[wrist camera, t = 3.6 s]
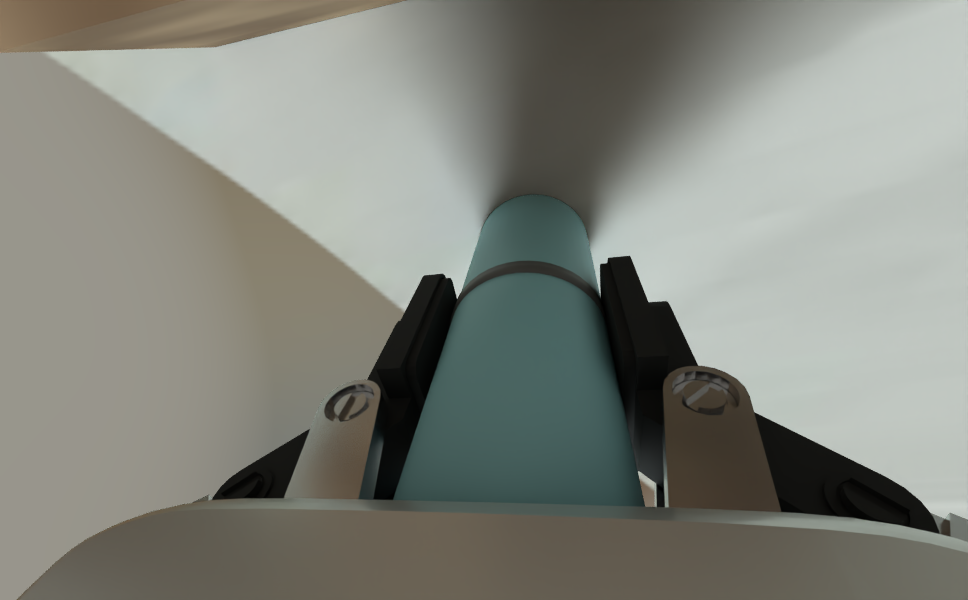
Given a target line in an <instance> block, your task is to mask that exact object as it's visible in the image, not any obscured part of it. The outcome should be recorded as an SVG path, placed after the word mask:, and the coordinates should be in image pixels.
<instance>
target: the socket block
mask: <svg viewBox="0 0 968 600" xmlns="http://www.w3.org/2000/svg"><path fill="white" fill-rule="evenodd" d="M401 1H405V0H0V53H9V52H47V51H86V50H124V49H162V48H201V47H218V46H222V45H226V44H230V43H234V42H238V41H242V40H246V39H250V38H254V37H258V36H262V35H266V34H271V33H275V32H279V31H283V30H287V29H291V28H295V27H299V26H303V25H307V24H311V23H315V22H320V21H324V20H328V19H332V18H336V17H340V16H344V15H348V14H352V13H356V12H360V11H364V10H369V9H373V8H377V7H381V6H385V5H389V4H393V3H397V2H401Z"/></svg>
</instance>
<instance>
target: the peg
mask: <svg viewBox="0 0 968 600" xmlns="http://www.w3.org/2000/svg"><path fill="white" fill-rule="evenodd" d="M393 500H412V501H454V502H495V503H533V504H570V505H603V506H636V507H645V504H644V499H643V495H642V490H641V485H640V481H639V476H638V471H637V466H636V462H635V457H634V452H633V448H632V443H631V438H630V434H629V429H628V424H627V420H626V415H625V410H624V406H623V401H622V396H621V392H620V387H619V382H618V378H617V373H616V368H615V364H614V359H613V354H612V350H611V345H610V340H609V335H608V331H607V318H606V314H605V309H604V306H603V304H602V301H601V298H600V293H599V289H598V284H597V279H596V275H595V270H594V265H593V260H592V256H591V251H590V246H589V242H588V237H587V233H586V229H585V227H584V224H583V222H582V220H581V219H580V217H579V216H578V215H577V213H576V212H575V211H574V210H573V209H572V208H570V207H569V206H568V205H566V204H565V203H563V202H562V201H560V200H558V199H555V198H552V197H549V196H544V195H524V196H519V197H516V198H513V199H510V200H508V201H506V202H504V203H503V204H501V205H500V206H499V207H497V208H496V209H495V210H494V211H493V212H492V213H491V214H490V215H489V217H488V218H487V220H486V221H485V223H484V226H483V228H482V231H481V234H480V237H479V240H478V243H477V246H476V249H475V252H474V255H473V258H472V261H471V264H470V267H469V270H468V273H467V276H466V279H465V282H464V285H463V289H462V292H461V293H460V295H459V297H458V299H457V301H456V304H455V307H454V310H453V313H452V316H451V319H450V325H449V331H448V334H447V337H446V340H445V343H444V346H443V349H442V352H441V355H440V358H439V361H438V364H437V368H436V371H435V374H434V377H433V380H432V383H431V386H430V389H429V392H428V395H427V398H426V401H425V404H424V407H423V410H422V413H421V416H420V419H419V422H418V425H417V428H416V431H415V434H414V437H413V440H412V443H411V447H410V450H409V453H408V456H407V459H406V462H405V465H404V468H403V471H402V474H401V477H400V480H399V483H398V486H397V489H396V492H395V495H394V498H393Z"/></svg>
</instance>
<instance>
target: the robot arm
mask: <svg viewBox="0 0 968 600" xmlns="http://www.w3.org/2000/svg"><path fill="white" fill-rule="evenodd" d="M600 287H601V301H602V304H603V306H604V309H605V314H606V318H607V331H608V335H609V340H610V345H611V350H612V354H613V359H614V364H615V368H616V373H617V378H618V382H619V387H620V392H621V396H622V401H623V406H624V410H625V415H626V420H627V424H628V429H629V434H630V438H631V443H632V448H633V452H634V457H635V462H636V466H637V471H640V472H641V473H643V474H644V475H645V476H647V477H648V478H650V479H651V480H652V481H654V482H655V507H636V506H603V505H570V504H533V503H495V502H454V501H412V500H393V498H394V495H395V492H396V489H397V486H398V483H399V480H400V477H401V474H402V471H403V468H404V465H405V462H406V459H407V456H408V453H409V450H410V447H411V443H412V440H413V437H414V434H415V431H416V428H417V425H418V422H419V419H420V416H421V413H422V410H423V407H424V404H425V401H426V398H427V395H428V392H429V389H430V386H431V383H432V380H433V377H434V374H435V371H436V368H437V364H438V361H439V358H440V355H441V352H442V349H443V346H444V343H445V340H446V337H447V334H448V331H449V325H450V319H451V316H452V313H453V310H454V307H455V304H456V301H457V298H456V294H455V290H454V286H453V282H452V280H451V278H446V277H445V275H444V274H435V275H425V276H423V278H422V280H421V282H420V284H419V286H418V288H417V289H416V291H415V293H414V295H413V297H412V299H411V301H410V303H409V305H408V307H407V309H406V311H405V313H404V315H403V317H402V319H401V321H398V323H397V324H396V325H395V327H394V329H393V331H392V333H391V335H390V337H389V339H388V341H387V343H386V345H385V346H384V349H383V350H382V352H381V354H380V356H379V358H378V360H377V362H376V364H375V366H374V368H373V370H372V372H371V374H370V375H369V377H368V379H367V380H354V381H351V382H347V383H345V384H343V385H341V386H339V387H337V388H336V389H334V390H333V391H332V392H330V393H329V394H328V395H327V396H326V397H325V398H324V399H323V401H322V402H321V404H320V406H319V408H318V411H317V413H316V415H315V418H314V421H313V423H312V426H311V428H310V429H309V430H307V431H305V432H304V433H302V434H301V435H299V436H297V437H296V438H294V439H292V440H291V441H289V442H287V443H286V444H284V445H282V446H280V447H279V448H277V449H275V450H274V451H272V452H270V453H269V454H267V455H266V456H264V457H262V458H261V459H259V460H257V461H256V462H254V463H252V464H251V465H249V466H247V467H246V468H244V469H242V470H241V471H239V472H238V473H236V474H235V475H234V476H232V477H231V478H229V479H228V480H227V481H226V482H225V483H224V484H223V485H222V486H221V487H220V489H219V490H218V491H217V493H216V494H215V495H214V497H213V498H212V497H211V496H210V495H207V496H205V497H203V498H201V499H198V500H196V501H194V502H192V503H187V504H182V505H177V506H173V507H169V508H165V509H160V510H156V511H151V512H149V513H146V514H143V515H140V516H137V517H134V518H132V519H128V520H126V521H123V522H120V523H118V524H116V525H114V526H111V527H109V528H107V529H105V530H103V531H101V532H99V533H97V534H95V535H93V536H91V537H89V538H87V539H86V540H84V541H83V542H81V543H80V544H78V545H77V546H75V547H74V548H72V549H71V550H70V551H69V552H67V553H66V554H65V555H64V556H63V557H61V558H60V559H59V560H58V561H56V562H55V563H54V564H53V565H52V566H51V567H50V568H49V569H48V570H47V571H46V572H45V573H44V574H43V575H42V576H41V577H40V578H39V579H37V580H36V581H35V582H34V583H33V584H32V585H31V586H30V587H29V588H28V589H27V590H26V591H25V592H24V593H23V594H22V595H21V596H20V597H19V598H18V599H17V600H968V520H967V519H965V518H962V517H960V516H957V515H954V514H952V513H949V514H948V516H947V517H946V518H945V519H944V518H942V517H939V516H937V515H934V514H932V513H930V512H929V511H928V510H927V508H926V507H925V506H924V505H923V503H922V502H921V501H920V500H918V499H917V498H916V497H915V496H914V495H912V494H911V493H910V492H909V491H908V490H906V489H905V488H904V487H902V486H900V485H899V484H897V483H895V482H894V481H892V480H890V479H889V478H887V477H885V476H883V475H881V474H879V473H877V472H875V471H873V470H871V469H869V468H867V467H865V466H863V465H861V464H858V463H856V462H854V461H852V460H850V459H848V458H846V457H844V456H842V455H840V454H838V453H836V452H834V451H832V450H830V449H828V448H826V447H824V446H822V445H820V444H818V443H816V442H814V441H812V440H810V439H808V438H806V437H803V436H801V435H799V434H797V433H795V432H793V431H791V430H789V429H787V428H785V427H783V426H781V425H779V424H777V423H775V422H773V421H771V420H769V419H767V418H765V417H763V416H761V415H759V414H757V413H755V412H754V410H753V407H752V403H751V399H750V396H749V394H748V392H747V390H746V388H745V387H744V386H743V385H742V384H741V383H740V382H739V381H738V380H737V379H736V378H734V377H732V376H731V375H729V374H727V373H726V372H723V371H720V370H718V369H715V368H710V367H705V366H698V365H697V362H696V360H695V358H694V356H693V354H692V352H691V350H690V347H689V345H688V343H687V341H686V339H685V337H684V335H683V332H682V330H681V328H680V326H679V324H678V322H677V320H676V317H675V315H674V313H673V311H672V309H671V307H670V305H669V303H668V302H666V301H662V302H648V300H647V298H646V295H645V293H644V290H643V288H642V285H641V282H640V280H639V277H638V275H637V272H636V270H635V267H634V264H633V262H632V259H631V257H630V256H623V257H613V258H608V263H606V264H600Z"/></svg>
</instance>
